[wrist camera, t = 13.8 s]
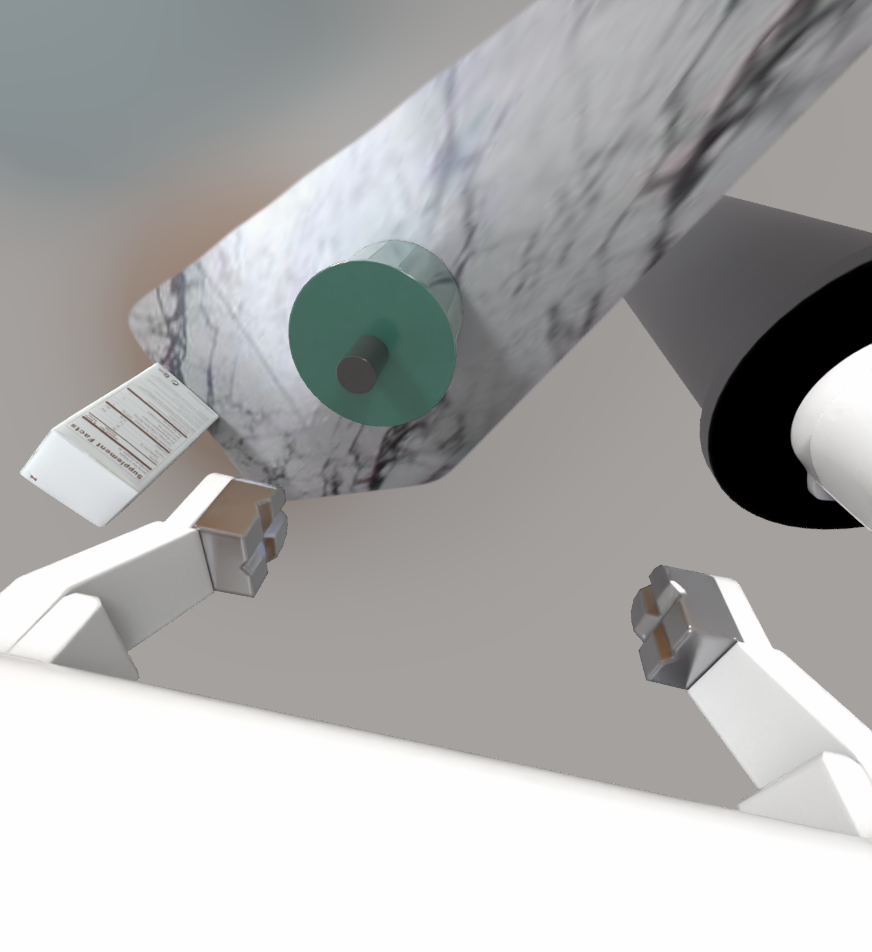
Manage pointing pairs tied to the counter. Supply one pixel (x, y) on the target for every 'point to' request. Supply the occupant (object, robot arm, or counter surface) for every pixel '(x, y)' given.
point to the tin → (421, 273)
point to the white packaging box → (119, 444)
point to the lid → (372, 342)
